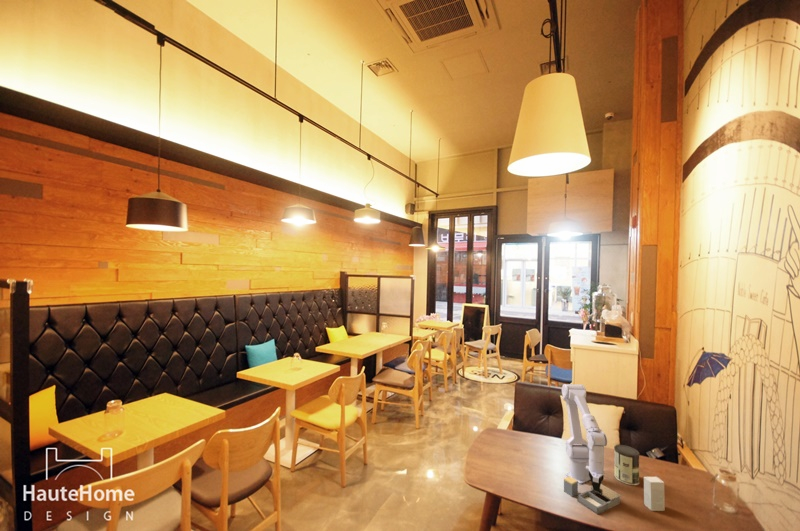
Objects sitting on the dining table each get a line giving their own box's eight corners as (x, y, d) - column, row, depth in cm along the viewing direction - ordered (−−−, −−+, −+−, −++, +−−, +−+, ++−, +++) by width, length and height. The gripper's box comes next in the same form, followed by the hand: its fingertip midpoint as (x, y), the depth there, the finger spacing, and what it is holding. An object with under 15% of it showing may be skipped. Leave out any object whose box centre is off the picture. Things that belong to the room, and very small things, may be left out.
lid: (600, 484, 153) (600, 480, 153) (620, 496, 145) (620, 492, 145) (590, 488, 150) (590, 484, 150) (611, 500, 142) (611, 496, 142)
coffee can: (633, 474, 166) (633, 445, 167) (643, 487, 156) (643, 456, 157) (610, 471, 168) (610, 443, 169) (619, 483, 158) (619, 453, 159)
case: (599, 491, 152) (599, 485, 152) (619, 503, 144) (619, 497, 144) (577, 501, 145) (577, 495, 145) (597, 514, 137) (597, 508, 137)
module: (569, 489, 154) (569, 476, 154) (577, 494, 150) (577, 480, 150) (563, 491, 152) (564, 478, 152) (572, 496, 148) (572, 483, 148)
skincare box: (656, 504, 145) (656, 476, 145) (665, 511, 140) (664, 482, 141) (643, 504, 144) (643, 476, 145) (651, 511, 140) (651, 482, 140)
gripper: (586, 449, 155) (586, 478, 155) (585, 464, 143) (584, 496, 143) (604, 454, 152) (604, 484, 151) (604, 469, 139) (604, 502, 139)
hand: (596, 490), depth 147 cm, fingers closed, pressing on lid
